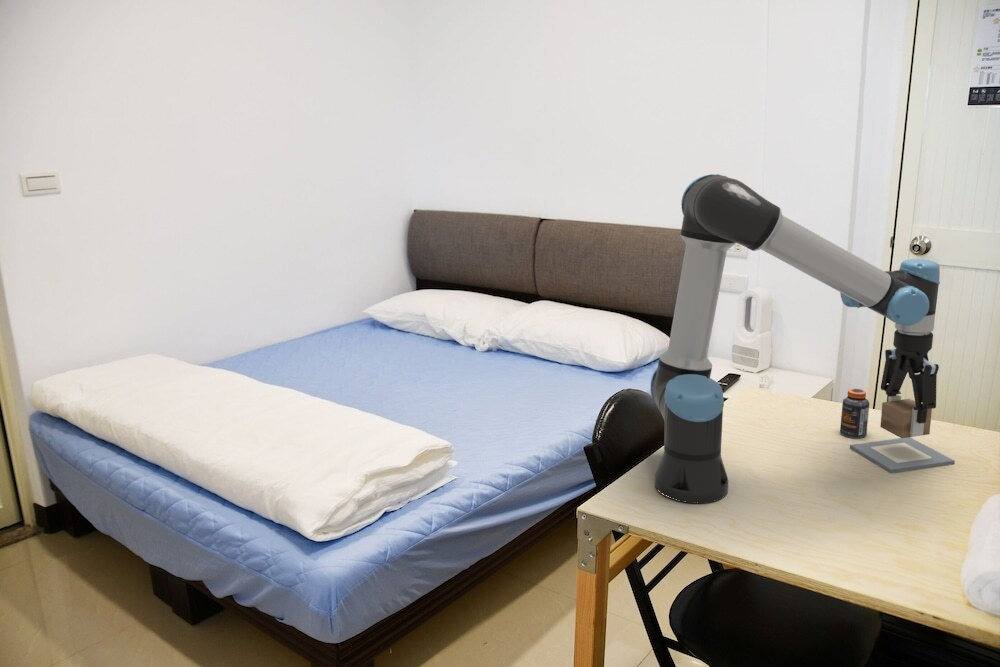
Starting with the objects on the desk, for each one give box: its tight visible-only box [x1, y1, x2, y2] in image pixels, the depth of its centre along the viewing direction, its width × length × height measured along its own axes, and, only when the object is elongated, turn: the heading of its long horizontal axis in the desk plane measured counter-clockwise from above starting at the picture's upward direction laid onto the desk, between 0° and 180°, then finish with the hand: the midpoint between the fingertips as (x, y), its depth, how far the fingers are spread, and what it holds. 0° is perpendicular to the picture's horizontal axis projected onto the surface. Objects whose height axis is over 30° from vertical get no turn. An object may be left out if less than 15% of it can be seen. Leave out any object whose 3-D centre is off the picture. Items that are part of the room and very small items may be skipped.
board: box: [849, 437, 955, 474], centre depth 177 cm, size 16×14×1 cm
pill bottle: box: [839, 387, 870, 439], centre depth 188 cm, size 6×6×11 cm
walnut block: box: [880, 398, 933, 438], centre depth 175 cm, size 7×7×6 cm
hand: (904, 428), depth 175 cm, fingers closed on walnut block, 7 cm apart
